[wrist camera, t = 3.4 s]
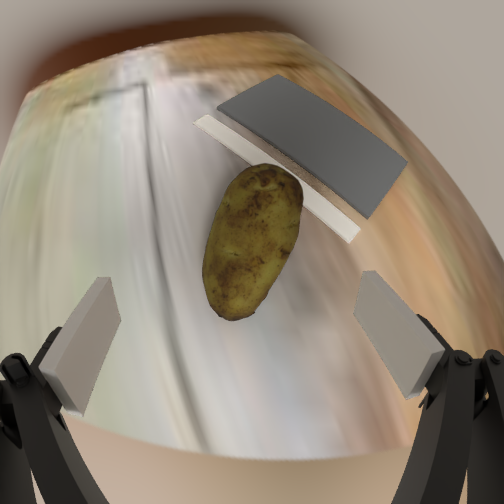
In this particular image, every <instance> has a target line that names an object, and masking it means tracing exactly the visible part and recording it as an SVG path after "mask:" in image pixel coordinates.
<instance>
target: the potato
mask: <svg viewBox="0 0 504 504" xmlns="http://www.w3.org/2000/svg"><path fill="white" fill-rule="evenodd" d="M303 200H304V196H303V189H302V186H301V184H300V182H299V180H298V179H296V178H295V177H294V176H293V175H292V174H290V173H289V172H288V171H286V170H285V169H283V168H281V167H279V166H277V165H274V164H268V163H263V164H258V165H254V166H251V167H248V168H247V169H245V170H244V171H242V172H241V173H240V174H239V175H238V176H237V177H236V178H235V179H234V180H233V181H232V182H231V184H230V185H229V186H228V188H227V190H226V192H225V194H224V197H223V199H222V202H221V204H220V206H219V208H218V210H217V212H216V215H215V218H214V222H213V225H212V228H211V231H210V234H209V238H208V241H207V245H206V250H205V255H204V260H203V268H202V277H203V283H204V287H205V291H206V295H207V299H208V301H209V304H210V306H211V307H212V309H213V310H214V311H215V312H216V313H217V314H218V316H219V317H223V318H224V319H226V320H228V321H236V320H240V319H243V318H247V317H249V316H251V315H252V314H254V313H255V310H256V308H257V307H258V306H259V305H260V303H261V302H262V301H263V300H264V299H265V298H266V296H267V294H268V291H269V289H270V288H271V286H272V285H273V283H274V282H275V280H276V278H277V277H278V275H279V274H280V272H281V270H282V268H283V267H284V265H285V263H286V261H287V259H288V257H289V255H290V253H291V251H292V250H293V248H294V245H295V242H296V240H297V237H298V233H299V224H300V215H301V210H302V206H303Z"/></svg>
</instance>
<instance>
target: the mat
mask: <svg viewBox="0 0 504 504" xmlns="http://www.w3.org/2000/svg"><path fill="white" fill-rule="evenodd" d="M217 109H218V110H219V111H221V112H222V113H224V114H226V115H227V116H229V117H230V118H232V119H234V120H235V121H237V122H238V123H240V124H241V125H243V126H244V127H246V128H247V129H249V130H251V131H252V132H254V133H255V134H257V135H258V136H259V137H261V138H262V139H264V140H265V141H267V142H268V143H270V144H271V145H273V146H274V147H275V148H277V149H278V150H280V151H281V152H282V153H284V154H285V155H287V156H288V157H289V158H291V159H292V160H294V161H295V162H296V163H298V164H299V165H300V166H302V167H303V168H304V169H306V170H307V171H308V172H310V173H311V174H312V175H313V176H315V177H316V178H317V179H319V180H320V181H321V182H322V183H324V184H325V185H326V186H328V187H329V188H330V189H331V190H333V191H334V192H335V193H336V194H338V195H339V196H340V197H341V198H342V199H344V200H345V201H346V202H347V203H348V204H350V205H351V206H352V207H353V208H354V209H356V210H357V211H358V212H359V213H360V214H361V215H363V216H364V217H365V218H366V219H368V218H369V217H370V216H371V214H372V213H373V212H374V210H375V209H376V208H377V206H378V205H379V203H380V202H381V201H382V199H383V198H384V196H385V195H386V194H387V192H388V191H389V189H390V188H391V186H392V185H393V184H394V182H395V181H396V179H397V178H398V176H399V175H400V173H401V172H402V170H403V169H404V167H405V166H406V165H407V163H408V161H406V160H405V159H404V158H403V157H402V156H400V155H399V154H398V153H397V152H396V151H394V150H393V149H392V148H391V147H389V146H388V145H387V144H386V143H384V142H383V141H382V140H380V139H379V138H378V137H377V136H375V135H374V134H373V133H371V132H370V131H369V130H367V129H366V128H364V127H363V126H362V125H360V124H359V123H357V122H356V121H355V120H353V119H352V118H350V117H349V116H347V115H346V114H344V113H343V112H341V111H340V110H338V109H337V108H335V107H334V106H332V105H331V104H329V103H327V102H326V101H324V100H323V99H321V98H319V97H318V96H316V95H314V94H313V93H311V92H309V91H308V90H306V89H304V88H302V87H301V86H299V85H297V84H295V83H293V82H292V81H290V80H288V79H286V78H284V77H282V76H280V75H278V74H277V75H275V76H273V77H271V78H269V79H267V80H265V81H263V82H261V83H259V84H257V85H255V86H253V87H251V88H250V89H248V90H246V91H244V92H242V93H240V94H238V95H237V96H235V97H233V98H231V99H230V100H228V101H226V102H224V103H223V104H221V105H219V106H218V107H217Z"/></svg>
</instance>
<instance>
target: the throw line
mask: <svg viewBox="0 0 504 504" xmlns="http://www.w3.org/2000/svg"><path fill="white" fill-rule="evenodd" d="M193 124H194V125H195V126H197V127H198V128H200V129H201V130H203V131H204V132H206V133H207V134H209V135H210V136H211V137H213V138H214V139H216V140H217V141H219V142H220V143H221V144H223V145H224V146H226V147H227V148H228V149H230V150H231V151H233V152H234V153H235V154H237V155H238V156H239V157H241V158H242V159H244V160H245V161H246V162H248V163H249V164H250V165H252V166H254V165H258V164H263V163H268V164H274V165H277V166H279V167H281V168H283V169H285V170H286V171H288V172H289V173H290V174H292V175H293V176H294V177H295V178H296V179H298V180H299V182H300V184H301V186H302V189H303V196H304V200H303V206H304V207H305V208H307V209H308V210H309V211H310V212H311V213H313V214H314V215H315V216H316V217H318V218H319V219H320V220H321V221H322V222H323V223H325V224H326V225H327V226H328V227H329V228H331V229H332V230H333V231H334V232H335V233H336V234H338V235H339V236H340V237H341V238H342V239H343V240H345V241H346V242H347V243H348V244H349V243H350V242H351V241H352V240H353V238H354V237H355V236H356V234H357V233H358V232H359V230H360V229H361V228H360V227H359V226H357V225H356V224H355V223H354V222H353V221H352V220H350V219H349V218H348V217H347V216H346V215H345V214H343V213H342V212H341V211H340V210H339V209H337V208H336V207H335V206H334V205H333V204H331V203H330V202H329V201H328V200H326V199H325V198H324V197H323V196H322V195H320V194H319V193H318V192H317V191H315V190H314V189H313V188H311V187H310V186H309V185H308V184H306V183H305V182H304V181H302V180H301V179H300V178H299V177H297V176H296V175H295V174H293V173H292V172H291V171H289V170H288V169H287V168H285V167H284V166H283V165H281V164H280V163H279V162H277V161H276V160H275V159H273V158H272V157H270V156H269V155H268V154H266V153H265V152H263V151H262V150H261V149H259V148H258V147H256V146H255V145H254V144H252V143H251V142H249V141H248V140H246V139H245V138H243V137H242V136H240V135H239V134H237V133H236V132H234V131H233V130H231V129H230V128H228V127H227V126H225V125H224V124H222V123H221V122H219V121H218V120H216V119H215V118H213V117H212V116H210V115H208V114H206V115H205V116H203V117H201V118H200V119H198V120H197V121H195V122H193Z"/></svg>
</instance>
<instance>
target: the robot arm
mask: <svg viewBox="0 0 504 504" xmlns="http://www.w3.org/2000/svg"><path fill="white" fill-rule="evenodd" d="M353 314H354V315H355V317H356V318H357V320H358V322H359V323H360V325H361V326H362V328H363V329H364V331H365V333H366V334H367V336H368V337H369V339H370V341H371V342H372V344H373V345H374V347H375V349H376V350H377V352H378V354H379V355H380V357H381V358H382V360H383V362H384V363H385V365H386V367H387V368H388V370H389V372H390V373H391V375H392V377H393V379H394V380H395V382H396V384H397V385H398V387H399V389H400V391H401V392H402V394H403V396H404V397H405V399H406V400H407V399H410V398H413V397H416V396H419V395H420V393H421V392H422V390H423V389H424V387H426V388H427V390H428V393H427V394H426V396H425V397H424V399H423V400H422V402H421V403H420V405H419V407H418V408H421V406H422V405H423V404H424V405H423V409H422V414H421V418H420V422H419V426H418V429H417V433H416V437H415V440H414V443H413V447H412V450H411V453H410V456H409V459H408V462H407V465H406V468H405V471H404V474H403V476H402V479H401V482H400V484H399V486H398V489H397V491H396V494H395V496H394V498H393V501H392V503H391V504H459V500H460V496H461V492H462V488H463V484H464V480H465V475H466V470H467V482H468V485H467V487H468V488H467V504H504V356H503V355H502V354H501V353H500V352H499V351H497V350H493V349H491V350H488V351H486V353H485V354H484V356H483V358H482V359H473V358H472V357H471V356H470V355H469V354H468V353H467V352H464V351H462V350H453V349H452V348H451V347H450V345H449V344H448V343H447V342H446V341H445V339H444V338H443V337H442V336H441V335H440V334H439V333H437V330H436V329H435V328H434V327H433V326H432V325H431V323H430V322H429V321H428V320H427V319H425V318H424V317H422V316H421V315H419V314H415V313H414V312H413V311H412V310H411V309H410V308H409V306H408V305H407V304H406V303H405V302H404V301H403V300H402V299H401V298H400V297H399V296H398V294H397V293H396V292H395V291H394V290H393V289H392V288H391V287H390V286H389V285H388V284H387V283H386V282H385V281H384V280H383V278H382V277H381V276H380V275H379V274H378V273H377V272H376V271H363V274H362V278H361V283H360V288H359V292H358V296H357V301H356V305H355V309H354V313H353ZM120 322H121V318H120V314H119V311H118V307H117V303H116V299H115V295H114V291H113V287H112V282H111V278H110V277H97V279H96V280H95V281H94V283H93V284H92V285H91V287H90V288H89V290H88V291H87V292H86V294H85V295H84V297H83V298H82V299H81V301H80V302H79V304H78V305H77V307H76V308H75V309H74V311H73V312H72V314H71V315H70V317H69V318H68V320H67V321H66V323H65V324H64V326H63V327H57V328H56V329H55V330H54V331H52V332H51V333H50V334H49V336H48V337H47V339H46V342H44V344H43V345H42V348H40V350H39V352H38V353H37V355H36V356H35V358H34V360H33V361H32V363H31V365H29V364H28V362H27V360H26V358H25V356H24V355H22V354H21V353H14V354H10V355H9V356H7V357H6V358H5V359H4V360H3V361H2V362H1V364H0V372H1V373H2V375H3V376H4V378H5V379H6V380H0V504H37V503H36V498H35V493H34V488H33V482H32V476H31V470H32V473H33V475H34V478H35V481H36V483H37V486H38V488H39V490H40V493H41V495H42V497H43V499H44V502H45V504H109V502H108V501H107V499H106V498H105V496H104V495H103V493H102V492H101V490H100V489H99V487H98V485H97V484H96V482H95V480H94V479H93V477H92V475H91V473H90V472H89V470H88V468H87V466H86V464H85V463H84V461H83V459H82V457H81V455H80V453H79V451H78V449H77V447H76V445H75V443H74V441H73V439H72V436H71V434H70V432H69V430H68V427H67V425H66V423H65V421H64V418H63V416H62V414H61V413H60V409H61V407H62V405H63V407H64V408H65V410H66V411H67V412H68V413H69V414H73V415H77V416H82V417H83V416H84V413H85V410H86V407H87V404H88V402H89V399H90V396H91V393H92V391H93V388H94V385H95V383H96V380H97V377H98V375H99V372H100V370H101V367H102V365H103V362H104V360H105V357H106V355H107V352H108V350H109V348H110V345H111V343H112V341H113V338H114V336H115V334H116V331H117V329H118V327H119V325H120ZM487 392H488V394H489V398H488V399H487V400H486V398H485V395H486V394H487ZM30 468H31V469H30Z"/></svg>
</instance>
